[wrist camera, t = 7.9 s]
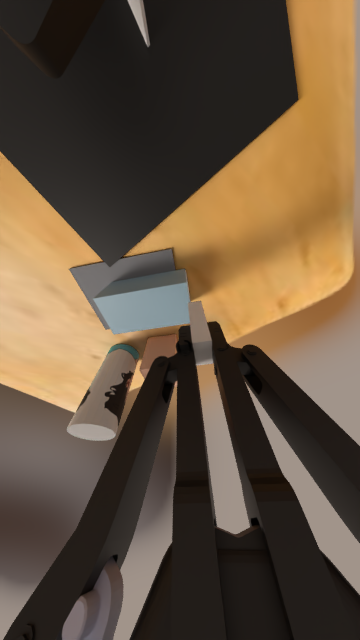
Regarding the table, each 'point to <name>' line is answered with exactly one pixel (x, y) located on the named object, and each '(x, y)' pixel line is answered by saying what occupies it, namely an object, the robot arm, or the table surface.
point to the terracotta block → (158, 351)
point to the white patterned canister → (106, 396)
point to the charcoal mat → (120, 273)
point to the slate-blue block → (145, 302)
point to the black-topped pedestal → (136, 102)
